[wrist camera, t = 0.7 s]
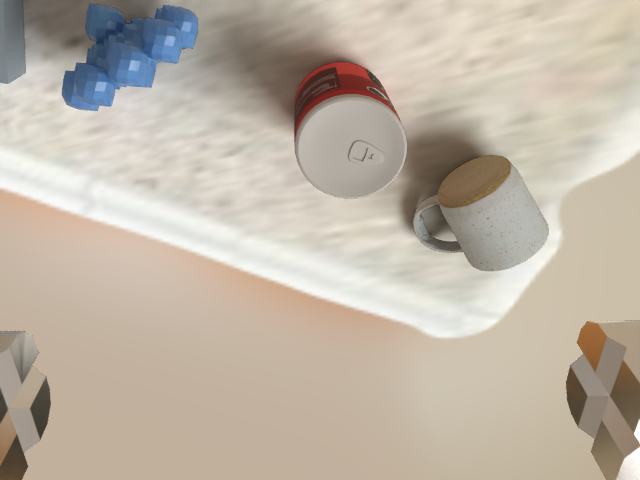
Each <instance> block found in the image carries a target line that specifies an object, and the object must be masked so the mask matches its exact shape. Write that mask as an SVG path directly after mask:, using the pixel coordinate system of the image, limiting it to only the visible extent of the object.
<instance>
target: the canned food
mask: <svg viewBox="0 0 640 480" xmlns="http://www.w3.org/2000/svg"><path fill="white" fill-rule="evenodd" d="M294 139H295V154H296V158H297V162H298V165H299V167H300V169H301V171H302V173H303V174H304V176H305V177H306V178H307V180H308V181H309V182H310V183H311V184H312V185H313V186H315V187H316V188H317V189H319V190H320V191H322V192H324V193H326V194H328V195H331V196H334V197H339V198H344V199H357V198H363V197H367V196H370V195H373V194H376V193H377V192H379V191H381V190H383V189H384V188H386V187H387V186H388V185H389V184H390V183H392V182H393V181H394V179H395V178H396V177H397V176H398V174H399V173H400V171H401V169H402V167H403V165H404V162H405V158H406V153H407V142H406V135H405V131H404V128H403V126H402V123H401V121H400V118H399V116H398V115H397V113H396V111H395V109H394V107H393V105H392V103H391V101H390V99H389V97H388V95H387V93H386V92H385V90H384V88H383V86H382V84H381V83H380V81H379V80H378V79H377V78H376V77H375V76H374V75H373V74H372V73H371V72H370V71H368V70H367V69H365V68H363V67H361V66H359V65H356V64H352V63H347V62H336V63H330V64H327V65H324V66H321V67H319V68H317V69H316V70H314V71H313V72H311V73H310V74H309V75H308V76H307V77H306V78H305V79H304V81H303V82H302V83H301V85H300V86H299V89H298V91H297V94H296V98H295V124H294Z"/></svg>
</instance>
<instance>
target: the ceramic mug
mask: <svg viewBox="0 0 640 480" xmlns="http://www.w3.org/2000/svg"><path fill="white" fill-rule="evenodd" d="M435 205H440V209H441V211H442V213H443V215H444V217H445V219H446V221H447V222H448V224H449V226H450V227H451V229H452V231H453V233H454V235H455V237H456V239H457V241H451V242H450V241H442V240H438V239H436V238H434V237H432V236H431V235H430V234H429V233H428V232H427V229H426V227H425V225H424V223H423V217H422V216H421V215H420V214H421V213H422V212H423V211H424V210H426V209H428V208H429V207H432V206H435ZM413 229H414V232H415V234H416V236H417V237H418V239H419V240H420V241H421V243H423V244H424V245H425V246H426V247H428V248H430V249H433V250H435V251H439V252H446V253H457V252H464V254H465V256H466V258H467V260H468V262H469V263H470V264H471V265H472V266H473V267H474V268H476V269H479V270H481V271H499V270H505V269H509V268H511V267H514V266H516V265H519V264H521V263H523V262H525V261H526V260H528V259H529V258H531V257H532V256H533V255H534V254H536V253H537V252H538V251H539V250H540V249H541V248H542V247H543V245H544V243H545V242H546V240H547V237H548V234H549V228H548V224H547V222H546V220H545V219H544V217H543V215H542V213H541V212H540V210H539V208H538V206H537V204H536V202H535V201H534V199H533V197H532V195H531V194H530V192H529V190H528V189H527V187H526V185H525V183H524V181H523V179H522V177H521V176H520V174H519V172H518V170H517V169H516V168H515V167H514V166H513V165H512V163H511V162H510V161H509V160H508V159H506V158H505V157H503V156H497V155H487V156H481V157H478V158H475V159H472V160H470V161H468V162H466V163H464V164H462V165H461V166H459V167H458V168H456V169H455V170H454V171H452V172H451V173H450V174H449V175H448V176H447V177H446V178H445V179H444V180H443V182H442V183H441V185H440V188H439V190H438V194H437V195H434V196H430V197H429V198H427V199H426V200H424V201H422V202H421V203H420V205H419V206H418V207H417V209H416V212H415V214H414V218H413Z"/></svg>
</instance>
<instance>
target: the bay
mask: <svg viewBox="0 0 640 480" xmlns="http://www.w3.org/2000/svg"><path fill="white" fill-rule="evenodd" d="M25 73H26V65H25V43H24V20H23V0H0V83H6V84H9V83H10V82H12V81H14V80H15V79H17V78H18V77H20V76H21V75H23V74H25Z"/></svg>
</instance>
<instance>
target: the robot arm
mask: <svg viewBox="0 0 640 480" xmlns="http://www.w3.org/2000/svg"><path fill="white" fill-rule="evenodd" d="M577 344H578V345H579V347H580V349H581V350H582V352H583V353H584V354H583V355H581V356H580V357H579V358H578V359H577V360H576V361H575V362H573V363H572V364H571V365H570V369H569V373H568V376H567V381H566V390H567V401H568V405H569V408H570V411H571V414H572V416H573V418H574V420H575V422H576V424H577V426H578V428H580V429H581V430H583V431H584V432H586V433H587V434H588V435H590V436H591V437H593V438H594V439H595V440H594V443H593V446H592V450H591V453H592V455H593V456H594V458H595V460H596V462H597V464H598V466H599V467H600V469H601V471H602V473H603V475H604V477H605V478H606V480H640V320H625V321H587V322H586V324H585V325H584V326H583V327H582V329H581V331H580V334H579V337H578V340H577ZM38 354H39V351H38V349H37V346H36V343H35V340H34V337H33V335H31V334H29V333H27V332H26V331H0V480H22V478H23V476H24V474H25V472H26V470H27V468H28V465H27V461H26V459H25V456H24V453H25V452H26V451H27V450H28V449H30V448H31V447H32V446H33V445H35V444H36V443H37V442H39V441H40V440H41V437H42V435H43V433H44V430H45V428H46V426H47V423H48V417H49V411H50V405H51V401H50V388H49V385H48V381H47V378H46V376H45V375H44V374H43V373H42V372H40V371H39V370H38V369H37V368H35V367H34V366H33V363H34V362H35V359H36V358H37V356H38Z"/></svg>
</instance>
